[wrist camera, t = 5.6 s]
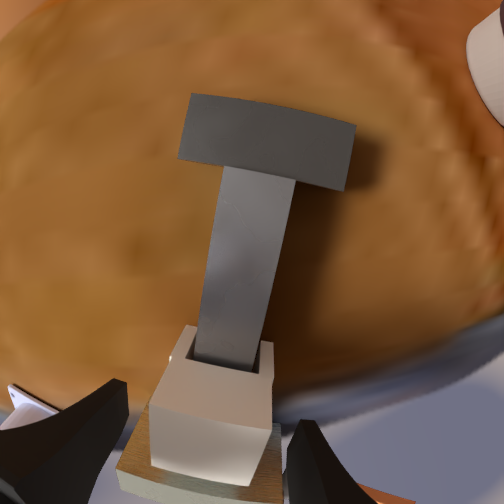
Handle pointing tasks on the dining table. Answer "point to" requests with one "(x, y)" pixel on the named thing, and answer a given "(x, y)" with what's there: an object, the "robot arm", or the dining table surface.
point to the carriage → (211, 415)
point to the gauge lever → (384, 500)
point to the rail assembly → (242, 263)
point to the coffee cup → (489, 61)
